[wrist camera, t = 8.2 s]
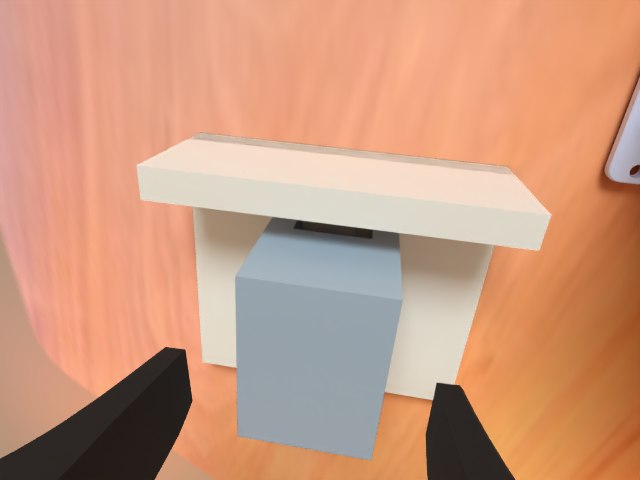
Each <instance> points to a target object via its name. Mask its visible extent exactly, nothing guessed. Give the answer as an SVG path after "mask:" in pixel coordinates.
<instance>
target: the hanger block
mask: <svg viewBox="0 0 640 480" xmlns="http://www.w3.org/2000/svg"><path fill="white" fill-rule="evenodd" d="M302 224H303V221H302V220H294V219H287V218H279V217H272V219H271V220H270V222H269V223H268V225H267V227H266V228H265V230H264V231H263V233H262V234H261V236H260V238H259V239H258V241H257V242H256V244H255V245H254V247H253V249H252V250H251V252H250V253H249V255H248V256H247V258H246V260H245V261H244V263H243V264H242V266H241V267H240V269H239V271H238V272H237V274H236V275H235V303H236V364H237V424H238V436H239V437H245V438H250V439H256V440H261V441H267V442H272V443H278V444H283V445H289V446H294V447H300V448H305V449H311V450H316V451H322V452H328V453H333V454H339V455H344V456H350V457H355V458H361V459H366V460H372V455H373V449H374V444H375V439H376V434H377V429H378V424H379V419H380V414H381V409H382V404H383V398H384V393H385V388H386V383H387V378H388V373H389V368H390V363H391V358H392V353H393V347H394V342H395V337H396V332H397V327H398V322H399V317H400V312H401V307H402V302H403V295H402V277H401V260H400V242H399V233H396V232H388V231H380V230H373V229H372V235H371V239H368V238H360V237H353V236H345V235H338V234H330V233H322V232H315V231H307V230H302Z"/></svg>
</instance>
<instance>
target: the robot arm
mask: <svg viewBox="0 0 640 480" xmlns="http://www.w3.org/2000/svg"><path fill="white" fill-rule="evenodd" d="M636 165H640V78H639V80H638V83H637V85H636V88H635V91H634V93H633V96H632V98H631V101H630V103H629V106H628V109H627V111H626V114H625V116H624V119H623V122H622V124H621V127H620V129H619V132H618V135H617V137H616V140H615V142H614V145H613V147H612V150H611V153H610V155H609V158H608V160H607V163H606V166H605V174H606V176H607V177H608V178H609V179H611V180H612V181H615V182H619V183H628V184H638V185H640V168H639V171H638V172H637V173H636V174H634V175H630V170H631V169H632V167H634V166H636ZM191 403H192V394H191V387H190V379H189V372H188V365H187V358H186V351H185V350H184V349H176V348H169V347H165V348H164V349H163V350H161V351H160V352H158V353H157V354H156V355H155V356H153V357H152V358H151V359H149V360H148V361H147V362H145V363H144V364H143V365H141V366H140V367H139V368H138V369H136V370H135V371H134V372H132V373H131V374H130V375H128V376H127V377H126V378H124V379H123V380H122V381H120V382H119V383H118V384H116V385H115V386H114V387H112V388H111V389H110V390H108V391H107V392H106V393H104V394H103V395H102V396H100V397H99V398H97V399H96V400H94V401H93V402H92V403H90V404H89V405H87V406H86V407H84V408H83V409H81V410H80V411H78V412H77V413H76V414H74V415H73V416H71V417H70V418H68V419H67V420H65V421H64V422H62V423H61V424H59V425H58V426H56V427H55V428H53V429H51V430H50V431H48V432H46V433H45V434H43V435H41V436H40V437H38V438H36V439H35V440H33V441H31V442H30V443H28V444H26V445H24V446H23V447H21V448H19V449H17V450H16V451H14V452H12V453H10V454H8V455H6V456H4V457H2V458H1V459H0V480H155V478H156V476H157V474H158V472H159V471H160V469H161V467H162V465H163V463H164V462H165V460H166V458H167V456H168V454H169V452H170V450H171V449H172V447H173V445H174V443H175V441H176V439H177V437H178V436H179V433H180V431H181V429H182V426H183V424H184V421H185V419H186V416H187V414H188V411H189V409H190V406H191ZM426 457H427V476H428V480H515V478H514V477H513V475H512V474H511V472H510V471H509V469H508V468H507V466H506V465H505V463H504V461H503V460H502V458H501V457H500V455H499V453H498V452H497V450H496V448H495V447H494V445H493V444H492V442H491V440H490V439H489V437H488V435H487V434H486V432H485V430H484V428H483V426H482V425H481V423H480V421H479V419H478V418H477V416H476V414H475V412H474V410H473V408H472V406H471V404H470V402H469V401H468V399H467V397H466V395H465V393H464V390H463V389H462V388H461V386H460V385H452V384H445V383H436V388H435V393H434V397H433V402H432V407H431V412H430V417H429V422H428V426H427V431H426Z"/></svg>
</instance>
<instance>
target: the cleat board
mask: <svg viewBox="0 0 640 480" xmlns="http://www.w3.org/2000/svg"><path fill="white" fill-rule="evenodd" d="M137 173H138V181H139V189H140V197H141V200H146V201H154V202H161V203H169V204H177V205H185V206H193V219H194V234H195V250H196V266H197V281H198V297H199V312H200V328H201V343H202V359H203V362H205V363H211V364H217V365H223V366H229V367H235V368H237V364H236V303H235V275H236V274H237V272H238V271H239V269H240V267H241V266H242V264H243V263H244V261H245V260H246V258H247V256H248V255H249V253H250V252H251V250H252V249H253V247H254V245H255V244H256V242H257V241H258V239H259V238H260V236H261V234H262V233H263V231H264V230H265V228H266V227H267V225H268V223H269V222H270V220H271V219H272V217H279V218H287V219H294V220H302V221H303V224H302V230H307V231H315V232H322V233H330V234H338V235H345V236H353V237H360V238H368V239H371V235H372V229H373V230H380V231H388V232H396V233H399V242H400V260H401V277H402V295H403V302H402V307H401V312H400V317H399V322H398V327H397V332H396V337H395V342H394V347H393V353H392V358H391V363H390V368H389V373H388V378H387V383H386V388H385V392H387V393H393V394H399V395H405V396H411V397H417V398H423V399H430V400H433V397H434V393H435V388H436V383H445V384H452V385H454V383H455V380H456V376H457V373H458V370H459V366H460V363H461V359H462V356H463V352H464V349H465V346H466V342H467V339H468V335H469V332H470V328H471V325H472V322H473V318H474V315H475V311H476V308H477V304H478V301H479V298H480V294H481V291H482V287H483V284H484V280H485V277H486V274H487V270H488V267H489V263H490V260H491V256H492V253H493V250H494V246H495V245H498V246H506V247H513V248H521V249H529V250H537V251H539V249H540V247H541V244H542V241H543V238H544V235H545V232H546V229H547V226H548V224H549V221H550V218H551V214H550V213H549V212H548V211H547V210H546V209H545V207H544V206H543V205H542V204H541V203H540V202H539V201H538V200H537V199H536V198H535V197H534V195H533V194H532V193H531V192H530V191H529V190H528V189H527V188H526V187H525V186H524V184H523V183H522V182H521V181H520V180H519V179H518V178H517V177H516V176H515V175H514V173H513V172H512V171H511V170H510V169H509V168H508V167H506V166H497V165H488V164H479V163H470V162H461V161H452V160H443V159H434V158H425V157H416V156H407V155H398V154H389V153H379V152H370V151H361V150H352V149H343V148H334V147H325V146H316V145H307V144H298V143H289V142H280V141H271V140H261V139H252V138H243V137H234V136H225V135H216V134H207V133H198V134H197V135H195V136H193V137H191V138H189V139H187V140H185V141H183V142H181V143H179V144H177V145H175V146H173V147H171V148H169V149H167V150H166V151H164V152H162V153H160V154H158V155H156V156H154V157H152V158H150V159H148V160H146V161H144V162H142V163H140V164H138V165H137Z"/></svg>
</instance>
